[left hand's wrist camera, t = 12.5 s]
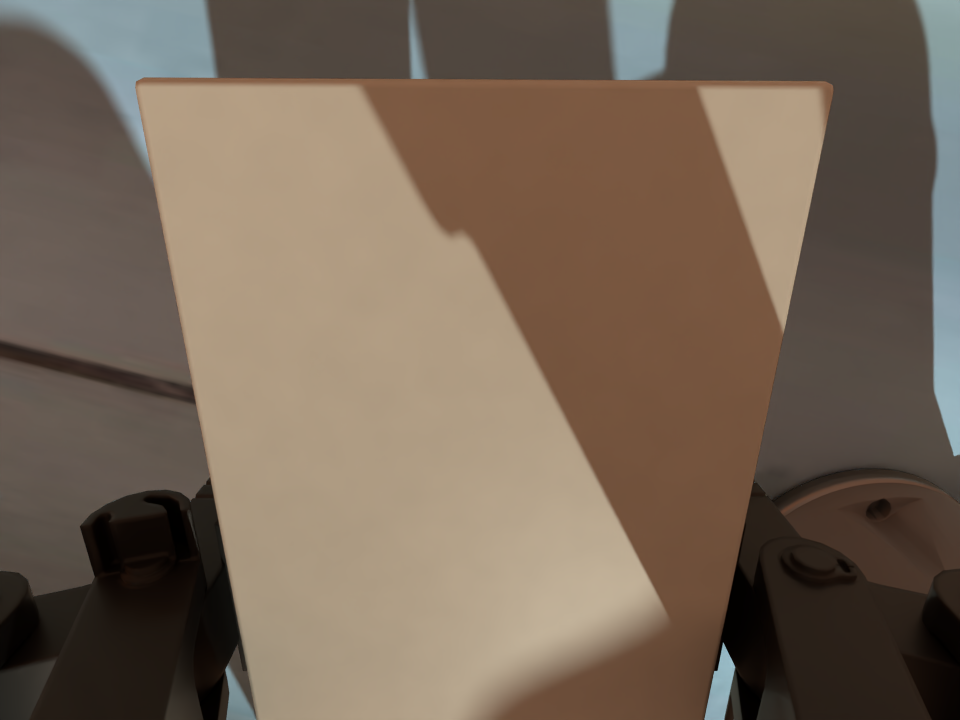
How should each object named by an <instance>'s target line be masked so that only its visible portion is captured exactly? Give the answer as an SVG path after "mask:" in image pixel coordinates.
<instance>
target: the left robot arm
mask: <svg viewBox="0 0 960 720" xmlns="http://www.w3.org/2000/svg"><path fill="white" fill-rule="evenodd" d="M80 528H81V532H82V535H83V538H84V542H85V545H86V549H87V552H88V555H89V559H90V562H91V566H92V569H93V572H94V576H95V578H94V580H93V582H92V584H89V585H85V586H82V587H77V588H72V589H68V590H63V591H58V592H54V593H49V594H44V595H40V596H35V597H33V594H32V591H31V588H30V585H29V582H28V580H27V579H26V578H25V577H23V576H22V575H21V574H19V573H15V572H6V571H0V720H226V717H227V708H228V700H229V688H228V681H227V676H226V671H225V669H226V667H227V665H228V663H229V661H230V658H231V656H232V654H233V652H234V650H235V648H236V646H237V644H238V648H239V653H240V658H241V663H242V668H243V671H247V666H246V661H245V656H244V651H243V646H242V640H241V635H240V630H239V625H238V619H237V614H236V609H235V604H234V599H233V593H232V588H231V583H230V578H229V573H228V567H227V562H226V557H225V552H224V547H223V541H222V536H221V531H220V526H219V521H218V515H217V510H216V505H215V500H214V495H213V489H212V484H211V479H210V478H209V479H208V480H207V483H206V485H203V487H202V488H201V489H200V490H199V492H198V493H197V494H196V498H193V499H192V500H191V501H190V500H189V499H188V498H187V497H186V496H184V495H183V494H182V493H179V492H174V491H169V490H155V491H145V492H141V493H137V494H132V495H128V496H125V497H123V498H120V499H118V500H116V501H113V502H111V503H108V504H106V505H105V506H103V507H102V508H100V509H99V510H97V511H95V512H94V513H92V514H91V515H90V516H89V517H88V518H87V519H86V520H85V521H84V523H83V524H82V525H81V526H80ZM723 642H724V645H725V647H726V649H727V651H728V653H729V655H730V657H731V659H732V661H733V663H734V665H735V671H734V676H733V680H732V685H731V690H730V695H729V699H728V704H727V709H726V714H725V719H724V720H960V503H959V502H958V501H956V500H955V499H954V498H952V497H951V496H950V495H948V494H947V493H946V492H944V491H943V490H942V489H940V488H939V487H937V486H936V485H934V484H933V483H931V482H929V481H927V480H925V479H923V478H920V477H918V476H915V475H912V474H908V473H905V472H900V471H894V470H886V469H860V470H851V471H845V472H839V473H835V474H831V475H827V476H824V477H821V478H818V479H815V480H812V481H810V482H808V483H805V484H803V485H801V486H799V487H797V488H795V489H793V490H791V491H789V492H787V493H786V494H784V495H783V496H781V497H779V498H778V499H776V500H775V501H774V502H772V501H771V500H770V498H769V497H768V496H765V492H764V491H763V490H762V489H761V487H760V486H759V485H758V484H757V483H754V480H753V485H752V490H751V495H750V499H749V504H748V509H747V514H746V519H745V524H744V529H743V533H742V538H741V543H740V548H739V553H738V558H737V562H736V567H735V572H734V577H733V582H732V587H731V592H730V596H729V601H728V606H727V611H726V616H725V621H724V626H723V630H722V635H721V640H720V645H719V650H718V655H717V660H716V664H715V669H714V671H717V670H718V665H719V660H720V655H721V650H722V645H723Z"/></svg>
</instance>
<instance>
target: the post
mask: <svg viewBox="0 0 960 720" xmlns="http://www.w3.org/2000/svg"><path fill="white" fill-rule="evenodd" d="M135 88H136V94H137V99H138V104H139V109H140V114H141V120H142V125H143V130H144V135H145V140H146V146H147V151H148V156H149V161H150V166H151V172H152V177H153V182H154V187H155V193H156V198H157V203H158V208H159V213H160V219H161V224H162V229H163V234H164V239H165V245H166V250H167V255H168V260H169V265H170V271H171V276H172V281H173V286H174V291H175V297H176V302H177V307H178V312H179V317H180V323H181V328H182V333H183V338H184V344H185V349H186V354H187V359H188V364H189V370H190V375H191V380H192V385H193V390H194V396H195V401H196V406H197V411H198V416H199V422H200V427H201V432H202V437H203V442H204V448H205V453H206V458H207V463H208V468H209V474H210V479H211V484H212V489H213V495H214V500H215V505H216V510H217V515H218V521H219V526H220V531H221V536H222V541H223V547H224V552H225V557H226V562H227V567H228V573H229V578H230V583H231V588H232V593H233V599H234V604H235V609H236V614H237V619H238V625H239V630H240V635H241V640H242V646H243V651H244V656H245V661H246V666H247V672H248V677H249V682H250V687H251V692H252V698H253V703H254V708H255V713H256V718H257V720H704V718H705V713H706V708H707V703H708V698H709V694H710V689H711V684H712V679H713V674H714V669H715V664H716V660H717V655H718V650H719V645H720V640H721V635H722V630H723V626H724V621H725V616H726V611H727V606H728V601H729V596H730V592H731V587H732V582H733V577H734V572H735V567H736V562H737V558H738V553H739V548H740V543H741V538H742V533H743V529H744V524H745V519H746V514H747V509H748V504H749V499H750V495H751V490H752V485H753V480H754V475H755V470H756V465H757V461H758V456H759V451H760V446H761V441H762V436H763V431H764V427H765V422H766V417H767V412H768V407H769V402H770V397H771V393H772V388H773V383H774V378H775V373H776V368H777V363H778V359H779V354H780V349H781V344H782V339H783V334H784V329H785V325H786V320H787V315H788V310H789V305H790V300H791V295H792V291H793V286H794V281H795V276H796V271H797V266H798V262H799V257H800V252H801V247H802V242H803V237H804V232H805V228H806V223H807V218H808V213H809V208H810V203H811V198H812V194H813V189H814V184H815V179H816V174H817V169H818V164H819V160H820V155H821V150H822V145H823V140H824V135H825V130H826V126H827V121H828V116H829V111H830V106H831V101H832V96H833V92H834V91H833V85H831V84H829V83H827V82H825V81H684V80H500V79H315V78H142V79H140V80H138V81H136V87H135Z"/></svg>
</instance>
